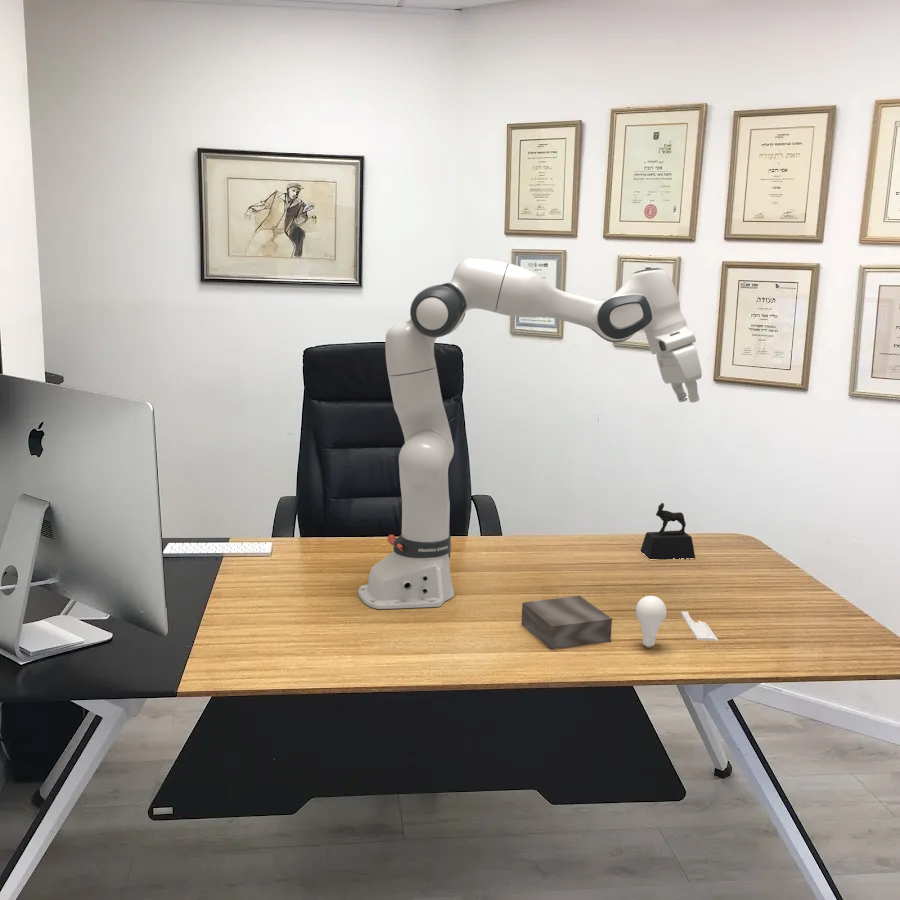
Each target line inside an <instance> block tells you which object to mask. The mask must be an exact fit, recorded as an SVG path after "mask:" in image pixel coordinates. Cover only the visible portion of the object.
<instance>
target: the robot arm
mask: <svg viewBox="0 0 900 900" xmlns="http://www.w3.org/2000/svg"><path fill="white" fill-rule="evenodd" d="M680 304H681V302H680V299H679V295H678V293H677V290H676V287H675V285H674V282H673V280H672V278H671V276H670V275H669V273H668V271H666V270H665V269H664V268H659V267H656V268H655V267H653V268H646V269H641V270H637V271H635V272H633V273H632V274H630V276H629V278H628V279H627V280H626V281H625V283H624V284H623V285H622V286H621V287H620V288H619V289H618V290H617V291H616V292H614V293H613V294H612V295H611V296H609V297H608V298H607V299H592V298H589V297H586V296H581V295H577V294H574V293H570V292H566V291H564V290H561V289H559V288H556V287H555V286H553V285H552V284H550V283H549V282H548V281H546V280H545V279H544V278H543V277H541V275H540V274H538V273H536V272H534V271H532V270H529V269H527V268H525V267H523V266H519V265H517V264H513V263H509V262H506V261H500V260H494V259H489V258H479V257H478V258H477V257H476V258H475V257H469V258H465V259H462V261H460V262H459V263H458V265H457V266H456V268H455V269H454V271H453V274H452V278H451V280H450V282H445V283H441V284H433V285H430V286H428V287H426V288H425V289H423V290H421V291H419V292H418V294H416V295H415V297H414V298H413V300H412V302H411V305H410V311H409V312H410V313H409V316H410V319H408V320H406V321H402V322H398V323H396V324H394V325H392V326H391V327H390V328H389V329H388V330H387V332H386V334H385V344H384V346H385V348H384V349H385V362H386V363H385V364H386V368H387V376H388V380H389V387H390V393H391V398H392V403H393V409H394V411H395V413H396V415H397V418H398V422H399V425H400V427H401V431H402V433H403V437H404V439H403V440H404V444H403V445H402V446H401V449H400V451H399V455H398V470H399V473H398V474H399V483H400V492H401V534H400V535H399V536H398V537H396V535H394V534H389V535H388V536H387V538H386V539H387V540H386V541H387V542H388V544H390V545H391V546H393V550H392V551H391V552H390V553H389V554H388V555H386V556H385V557H384V558H382V559H381V560H379V561H378V562H377V563H376V564H374V565H372V567H371V569H370V572H369V575H368V579H367V584H362V585H360V587H358V597H359V598H360V600H361V601H362V602H363V603H364V604H365V605H367V606H368V607H371V608H373V609H377V610H386V609H387V610H388V609H393V610H394V609H414V608H415V609H417V608H435V607H436V608H439V607H442V606H443V605H444V603H445V602H446V601H448V600H450V599H452V598H453V597H454V596H455V590H454V587H453V581H452V577H451V576H452V575H451V568H450V559H451V552H452V539H451V537H452V536H451V534H450V515H451V513H450V512H451V511H450V510H451V509H450V508H451V502H450V494H449V492H450V490H449V467H450V463H451V461H452V459H453V457H454V454H455V445H454V442H453V437H452V433H451V427H450V424H449V423H450V422H449V421H448V416H447V413H446V409H445V406H444V402H443V397H442V392H441V387H440V379H439V374H438V367H437V363H436V358H435V342H436V340H437V338H441V337H444V336H447V335H450V334H451V333H454V331H455V330H457V329H458V328H459V326H460V325H461V323H462V322H463V321H464V318H465V317H466V312H467V311H469V310H473V309H476V310H477V309H479V310H484V311H486V312H487V311H488V312H492V313H496V314H498V315H504V316H509V317H515V318H516V317H517V318H551V319H555V320H561V321H564V322H566V323H572V324H574V325H579V326H582V327H586V328H588V329H590V330H591V331H592V332H594V333H596V335H598V336H599V337H600V338H602V339H603V340H605V341H606V342H610V343H623V342H625V341H627V340H629V339H630V338H632V337H633V336H634V335H635V334H636V333H637V332H639V331H644V333H645V336H646V340H647V342H648V346H649V350H650V352H651V355H656V361H657V365H658V369H659V372H660V376H661V377H662V378H661V379H662V381H663V382H664V384H667V385H668V384H670V385H671V388H672V390H673V392H674V394H675V395H676V398H677V400H678V402H679V403H683V402H686V401H688V400H689V402H690V403H696V402H699V401H700V395H699V393H698V391H699V390H698V384H697V380H700V379H702V376H703V375H702V374H703V372H702V367H701V362H700V358H699V355H698V351H697V348H696V345H695V344H694V343H696V341H697V340H696V339H697V338H696V336H695V333H694V332H693V331H691V330H690V329H689V327H688V324H687V321H686V318H685V317H684V315H683V314H682V311H681V307H680ZM683 384H684V385H685V388H686V390H687V393H686V391H685V389H684V387H683Z"/></svg>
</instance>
